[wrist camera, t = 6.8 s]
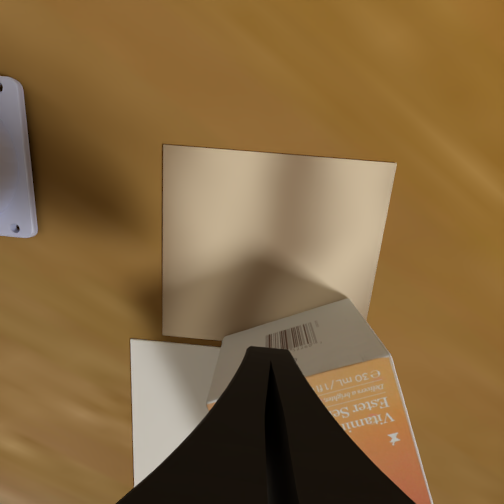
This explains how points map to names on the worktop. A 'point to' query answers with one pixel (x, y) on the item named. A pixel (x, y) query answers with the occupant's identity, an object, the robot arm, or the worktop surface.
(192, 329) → the shelf board
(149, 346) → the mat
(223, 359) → the small box
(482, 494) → the worktop surface
